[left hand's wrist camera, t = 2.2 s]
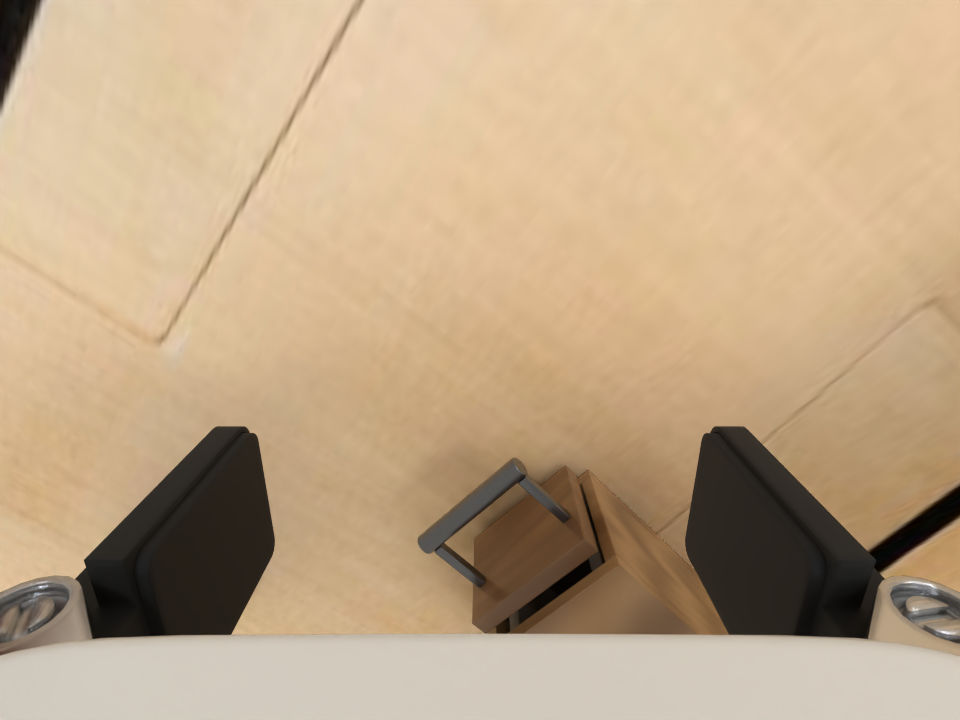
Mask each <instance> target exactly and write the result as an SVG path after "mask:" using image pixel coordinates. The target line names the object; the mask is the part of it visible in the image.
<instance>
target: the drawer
mask: <svg viewBox="0 0 960 720" xmlns="http://www.w3.org/2000/svg"><path fill="white" fill-rule="evenodd" d="M516 483H519V485H521V486H522V487H523V488H524V489H525V490H526V491H527V492H528V493H530V494H529V495H528V496H527V497H526V498H524V499H523V500H522V501H521V502H520V503H518V504H517V505H516V506H515V507H513V508H512V509H511V510H510V511H508V512H507V513H506V514H505V515H503V516H502V517H501V518H500V519H498V520H497V521H496V522H495V523H493V524H492V525H491V526H490V527H488V528H487V529H486V530H485V531H483V532H482V533H481V534H480V535H479V536H477V537H476V538H475V541H474V567H473V566H472V565H471V564H469V563H468V562H467V561H466V560H464V559H463V558H462V557H461V556H459V555H458V554H457V553H456V552H455V551H453V550H452V549H451V548H450V547H448V546H447V545H446V544H445V543H444V542H445V541H447V540H448V539H449V538H450V537H452V536H453V535H454V534H455V533H456V532H458V531H459V530H460V529H461V528H463V527H464V526H465V525H466V524H467V523H469V522H470V521H471V520H472V519H474V518H475V517H476V516H477V515H478V514H480V513H481V512H482V511H483V510H485V509H486V508H487V507H488V506H489V505H491V504H492V503H493V502H494V501H496V500H497V499H498V498H499V497H500V496H502V495H503V494H504V493H505V492H507V491H508V490H509V489H510V488H511V487H513V486H514V485H515V484H516ZM418 544H419V546H420V548H421V549H422V550H423V551H424V552H425V553H428V554H430V553H432V552H433V551H435V553H436V554H437V555H438V556H440V557H441V558H442V559H443V560H445V561H446V562H447V563H448V564H450V565H451V566H452V567H453V568H455V569H456V570H457V571H458V572H460V573H461V574H462V575H463V576H465V577H466V578H467V579H468V580H470V581H471V582H472V583H473V614H472V623H473V624H474V625H475V626H476V627H477V628H479V629H480V630H481V631H483V632H484V633H488V632H489V631H491V630H492V629H493V628H495V627H496V626H497V625H499V624H500V623H501V622H503V621H504V620H506V619H507V618H508V617H509V623H510V631H511V630H513V629H514V628H516V627H517V626H518V625H520V624H521V623H522V622H524V621H525V620H527V619H528V618H529V617H531V616H532V615H533V614H535V613H536V612H538V611H539V610H540V609H542V608H543V607H544V606H546V605H547V604H549V603H550V602H551V601H553V600H554V599H556V598H557V597H558V596H560V595H561V594H562V593H564V592H565V591H567V590H568V589H569V588H571V587H572V586H573V585H575V584H576V583H578V582H579V581H580V580H582V579H583V578H584V577H586V576H587V575H589V574H590V573H591V572H593V571H594V570H596V569H597V568H598V567H600V566H601V565H602V564H604V563H605V560H604V556H603V553H602V550H601V546H600V543H599V540H598V536H597V533H596V529H595V526H594V523H593V519H592V516H591V513H590V509H589V506H588V503H587V500H586V499H585V498H584V497H583V496H582V493H581V489H580V486H579V482H578V479H577V476H576V475H575V474H574V473H573V472H572V471H571V470H570V469H569V468H568V467H567V466H564V467H563V468H562V469H561V470H559V471H558V472H557V473H556V474H554V475H553V476H552V477H551V478H549V479H548V480H547V481H546V482H544V483H543V484H542V485H541V486H540V485H539V484H537V483H536V482H535V481H534V480H533V479H532V478H531V477H530V476H529V475H527V470H526V468H525V466H524V465H523V464H522V462H521V461H519V460H518V459H517V458H512V459H511V460H510V461H508V462H507V463H506V464H505V465H504V466H502V467H501V468H500V469H499V470H498V471H496V472H495V473H494V474H493V475H492V476H491V477H489V478H488V479H487V480H486V481H485V482H483V483H482V484H481V485H480V486H479V487H477V488H476V489H475V490H474V491H473V492H471V493H470V494H469V495H468V496H467V497H465V498H464V499H463V500H462V501H461V502H459V503H458V504H457V505H456V506H455V507H454V508H452V509H451V510H450V511H449V512H448V513H446V514H445V515H444V516H443V517H442V518H440V519H439V520H438V521H437V522H436V523H434V524H433V525H432V526H431V527H430V528H428V529H427V530H426V531H425V532H424V533H422V534H421V535H420V536H419V537H418Z"/></svg>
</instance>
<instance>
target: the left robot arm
mask: <svg viewBox="0 0 960 720" xmlns="http://www.w3.org/2000/svg"><path fill="white" fill-rule="evenodd" d="M274 545H275V538H274V532H273V526H272V520H271V514H270V508H269V502H268V496H267V490H266V484H265V478H264V472H263V466H262V460H261V454H260V448H259V442H258V438H257V436H256V434H254V433H250V432H249V430H248V429H247V428H246V427H215V428H214V429H213V430H212V431H211V432H210V433H209V434H208V435H207V436H206V437H205V438H204V439H203V440H202V441H201V442H200V443H199V444H198V445H197V446H196V447H195V448H194V449H193V450H192V451H191V452H190V453H189V454H188V455H187V456H186V457H185V458H184V459H183V460H182V461H181V462H180V463H179V464H178V465H177V466H176V467H175V468H174V469H173V470H172V471H171V472H170V473H169V474H168V475H167V476H166V477H165V478H164V479H163V480H162V481H161V482H160V483H159V484H158V485H157V486H156V487H155V488H154V490H153V491H152V492H151V493H150V494H149V495H148V496H147V497H146V498H145V499H144V500H143V501H142V502H141V503H140V504H139V505H138V506H137V507H136V508H135V509H134V510H133V511H132V512H131V513H130V514H129V515H128V516H127V517H126V518H125V519H124V520H123V521H122V522H121V523H120V524H119V525H118V526H117V527H116V528H115V529H114V530H113V531H112V532H111V533H110V534H109V535H108V536H107V537H106V538H105V539H104V540H103V541H102V542H101V543H100V544H99V545H98V546H97V547H96V548H95V549H94V550H93V551H92V553H91V554H90V555H89V556H88V557H87V558H86V559H85V560H84V562H85V565H86V568H85V569H84V570H83V571H82V573H81V574H80V575H79V576H78V577H77V578H76V579H73V578H71V577H68V576H49V577H42V578H37V579H34V580H30V581H27V582H24V583H20V584H18V585H16V586H14V587H11V588H9V589H7V590H5V591H3V592H1V593H0V720H960V593H959V592H957V591H955V590H953V589H951V588H949V587H946V586H944V585H942V584H940V583H936V582H933V581H930V580H926V579H923V578H918V577H911V576H892V577H889V578H887V579H884V578H883V577H882V576H881V575H880V574H879V573H878V571H877V570H876V569H875V568H874V565H875V562H876V560H875V559H874V558H873V557H872V556H871V555H870V554H869V553H868V551H867V550H866V549H865V548H864V547H863V546H862V545H861V544H860V543H859V542H858V541H857V540H856V539H855V538H854V537H853V536H852V535H851V534H850V533H849V532H848V531H847V530H846V529H845V528H844V527H843V526H842V525H841V524H840V523H839V522H838V521H837V520H836V519H835V518H834V517H833V516H832V515H831V514H830V513H829V512H828V511H827V510H826V509H825V508H824V507H823V506H822V505H821V504H820V503H819V502H818V501H817V500H816V499H815V498H814V497H813V496H812V495H811V494H810V493H809V492H808V491H807V490H806V488H805V487H804V486H803V485H802V484H801V483H800V482H799V481H798V480H797V479H796V478H795V477H794V476H793V475H792V474H791V473H790V472H789V471H788V470H787V469H786V468H785V467H784V466H783V465H782V464H781V463H780V462H779V461H778V460H777V459H776V458H775V457H774V456H773V455H772V454H771V453H770V452H769V451H768V450H767V449H766V448H765V447H764V446H763V445H762V444H761V443H760V442H759V441H758V440H757V439H756V438H755V437H754V436H753V435H752V434H751V433H750V432H749V431H748V430H747V429H746V428H745V427H714V428H713V429H712V430H711V432H710V433H706V434H704V436H703V438H702V442H701V448H700V454H699V460H698V466H697V472H696V478H695V484H694V490H693V496H692V502H691V508H690V514H689V520H688V526H687V532H686V538H685V545H686V551H687V555H688V557H689V559H690V561H691V563H692V565H693V567H694V569H695V571H696V572H697V574H698V576H699V578H700V580H701V582H702V584H703V586H704V588H705V590H706V592H707V594H708V595H709V597H710V599H711V601H712V603H713V605H714V607H715V609H716V611H717V613H718V615H719V617H720V618H721V620H722V622H723V624H724V626H725V628H726V630H727V632H728V634H729V635H680V634H291V635H231V634H232V632H233V630H234V628H235V626H236V624H237V622H238V620H239V618H240V617H241V615H242V613H243V611H244V609H245V607H246V605H247V603H248V601H249V599H250V597H251V595H252V594H253V592H254V590H255V588H256V586H257V584H258V582H259V580H260V578H261V576H262V574H263V572H264V571H265V569H266V567H267V565H268V563H269V561H270V559H271V557H272V555H273V551H274Z"/></svg>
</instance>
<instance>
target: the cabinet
mask: <svg viewBox="0 0 960 720" xmlns="http://www.w3.org/2000/svg"><path fill="white" fill-rule="evenodd" d="M577 479H578V482H579V486H580V489H581V493H582V496H583V497H584V498H585V499H586V500H587V503H588V506H589V509H590V513H591V516H592V519H593V523H594V526H595V529H596V533H597V536H598V540H599V543H600V546H601V550H602V553H603V556H604V560H605V563H604V564H602V565H601V566H600V567H598V568H597V569H596V570H594V571H593V572H591V573H590V574H589V575H587V576H586V577H584V578H583V579H582V580H580V581H579V582H578V583H576V584H575V585H573V586H572V587H571V588H569V589H568V590H567V591H565V592H564V593H562V594H561V595H560V596H558V597H557V598H556V599H554V600H553V601H551V602H550V603H549V604H547V605H546V606H544V607H543V608H542V609H540V610H539V611H538V612H536V613H535V614H533V615H532V616H531V617H529V618H528V619H527V620H525V621H524V622H522V623H521V624H520V625H518V626H517V627H516V628H514V629H513V630H511V631H510V623H509V617H508V618H507V619H506V620H504V621H503V622H501V623H500V624H499V625H497V626H496V627H495V628H493V629H492V630H491V631H489V632H488V633H487V634H680V635H729V634H728V632H727V630H726V628H725V626H724V624H723V622H722V620H721V618H720V617H719V615H718V613H717V611H716V609H715V607H714V605H713V603H712V601H711V599H710V597H709V595H708V594H707V592H706V590H705V588H704V586H703V584H702V582H701V580H700V578H699V576H698V574H697V572H696V571H695V570H694V569H693V568H692V567H691V566H690V565H689V564H688V563H686V562H685V561H684V560H683V559H682V558H681V557H680V556H679V555H678V554H677V553H676V552H675V551H674V550H673V549H672V548H671V547H669V546H668V545H667V544H666V543H665V542H664V541H663V540H662V539H661V538H660V537H659V536H658V535H657V534H656V533H655V532H654V531H653V530H651V529H650V528H649V527H648V526H647V525H646V524H645V523H644V522H643V521H642V520H641V519H640V518H639V517H638V516H637V515H636V514H635V513H633V512H632V511H631V510H630V509H629V508H628V507H627V506H626V505H625V504H624V503H623V502H622V501H621V500H620V499H619V498H618V497H617V496H615V495H614V494H613V493H612V492H611V491H610V490H609V489H608V488H607V487H606V486H605V485H604V484H603V483H602V482H601V481H600V480H599V479H597V478H596V477H595V476H594V475H593V474H592V473H591V472H590V471H589V470H587V471H586V472H585V473H584V474H582V475H581V476H580V477H579V478H577Z"/></svg>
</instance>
